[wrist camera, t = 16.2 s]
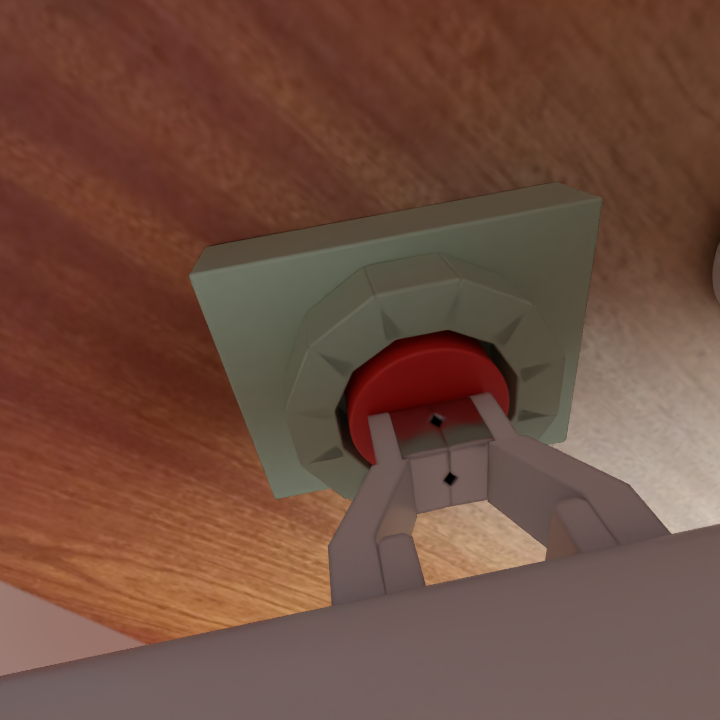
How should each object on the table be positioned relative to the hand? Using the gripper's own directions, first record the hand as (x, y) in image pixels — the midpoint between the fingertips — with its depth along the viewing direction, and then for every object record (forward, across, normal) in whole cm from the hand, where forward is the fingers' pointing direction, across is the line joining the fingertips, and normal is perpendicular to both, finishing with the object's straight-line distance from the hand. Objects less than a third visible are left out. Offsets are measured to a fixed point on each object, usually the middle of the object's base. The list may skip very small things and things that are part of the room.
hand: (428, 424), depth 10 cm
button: (+2, 0, 0) cm, 2 cm away
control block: (+4, 0, 0) cm, 4 cm away
